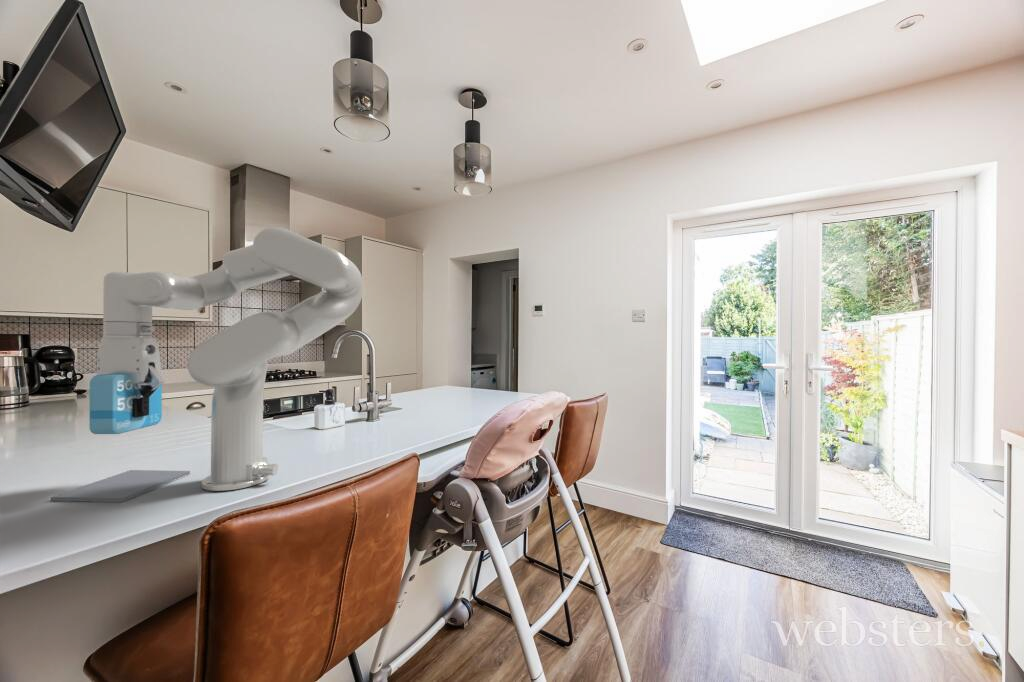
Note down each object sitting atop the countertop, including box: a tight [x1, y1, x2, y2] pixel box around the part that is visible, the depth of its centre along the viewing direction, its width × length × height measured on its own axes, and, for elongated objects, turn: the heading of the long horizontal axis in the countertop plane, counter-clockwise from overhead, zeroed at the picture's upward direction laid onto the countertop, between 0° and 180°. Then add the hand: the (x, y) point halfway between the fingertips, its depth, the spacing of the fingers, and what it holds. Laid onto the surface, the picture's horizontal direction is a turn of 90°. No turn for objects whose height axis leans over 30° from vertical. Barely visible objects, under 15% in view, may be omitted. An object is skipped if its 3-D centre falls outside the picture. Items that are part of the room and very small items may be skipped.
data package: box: [89, 374, 163, 435], centre depth 85 cm, size 12×4×12 cm, turn 3°
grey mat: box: [50, 469, 191, 503], centre depth 85 cm, size 14×16×1 cm
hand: (128, 415), depth 85 cm, fingers closed on data package, 4 cm apart
